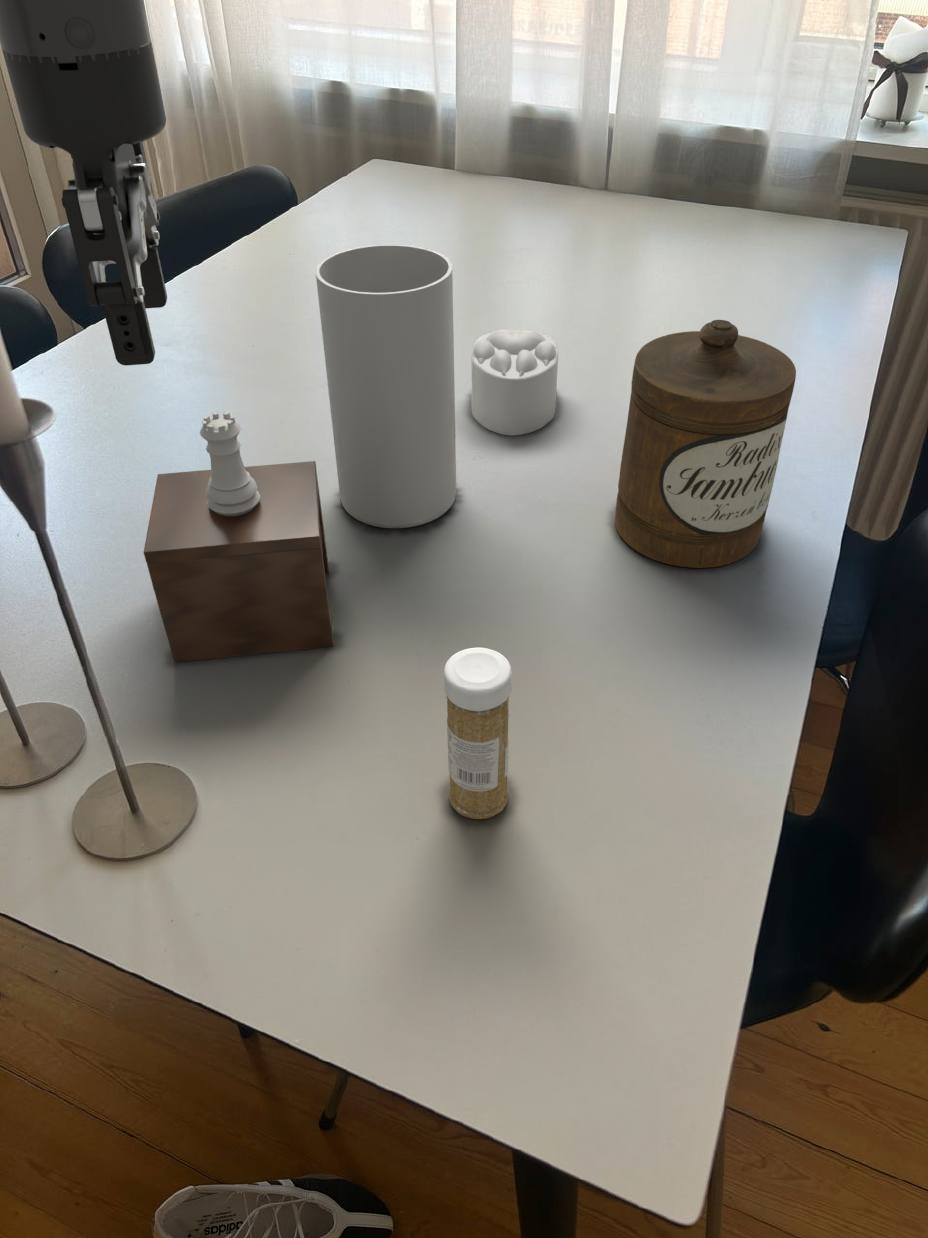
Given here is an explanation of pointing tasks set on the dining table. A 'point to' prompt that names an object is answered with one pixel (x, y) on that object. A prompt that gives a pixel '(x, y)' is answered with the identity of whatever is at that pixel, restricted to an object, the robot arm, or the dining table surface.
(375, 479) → the cylinder vase
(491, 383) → the lumpy-topped squat cylinder
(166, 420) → the dining table surface
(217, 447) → the rook chess piece
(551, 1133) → the dining table surface
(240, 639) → the wooden lidded box
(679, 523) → the wooden container
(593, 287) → the dining table surface
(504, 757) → the sprinkles bottle
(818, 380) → the dining table surface
